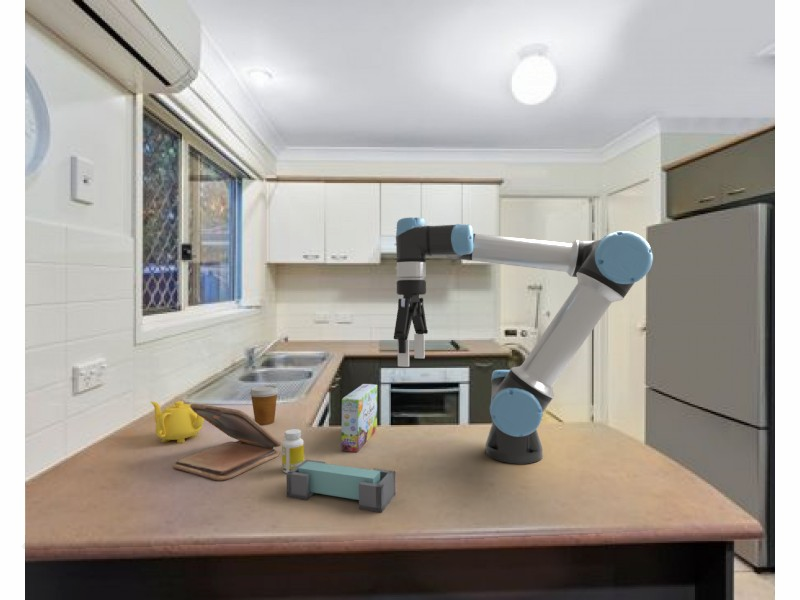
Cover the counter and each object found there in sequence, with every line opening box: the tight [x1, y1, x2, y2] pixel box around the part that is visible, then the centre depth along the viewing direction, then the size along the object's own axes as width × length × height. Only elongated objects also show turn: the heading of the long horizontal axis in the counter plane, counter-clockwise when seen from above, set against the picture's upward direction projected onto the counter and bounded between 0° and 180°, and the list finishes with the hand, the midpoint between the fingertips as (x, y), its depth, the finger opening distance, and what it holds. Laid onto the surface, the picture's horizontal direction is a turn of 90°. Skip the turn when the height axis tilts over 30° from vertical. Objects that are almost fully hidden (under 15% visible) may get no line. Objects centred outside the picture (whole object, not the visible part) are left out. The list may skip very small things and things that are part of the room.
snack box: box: [340, 383, 378, 453], centre depth 133 cm, size 21×6×15 cm, turn 168°
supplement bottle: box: [281, 428, 305, 474], centre depth 111 cm, size 5×5×10 cm
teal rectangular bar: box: [299, 461, 380, 501], centre depth 97 cm, size 18×4×5 cm, turn 71°
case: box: [172, 403, 282, 481], centre depth 118 cm, size 20×21×16 cm
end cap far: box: [285, 459, 326, 501], centre depth 100 cm, size 5×8×5 cm, turn 161°
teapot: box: [150, 400, 208, 445], centre depth 135 cm, size 20×15×12 cm
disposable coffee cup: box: [249, 384, 279, 426], centre depth 152 cm, size 10×10×12 cm
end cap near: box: [358, 468, 396, 513], centre depth 94 cm, size 5×8×5 cm, turn 161°
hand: (412, 362), depth 113 cm, fingers open, 13 cm apart
